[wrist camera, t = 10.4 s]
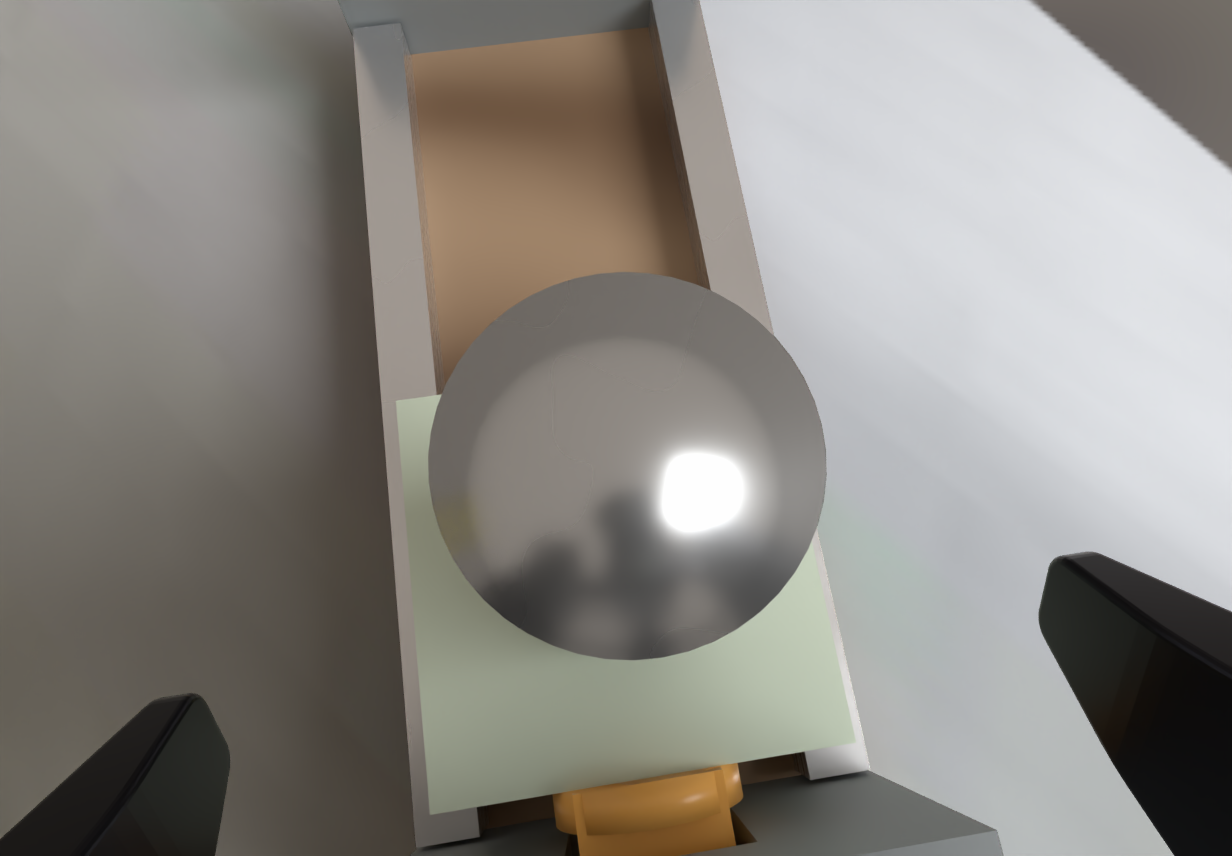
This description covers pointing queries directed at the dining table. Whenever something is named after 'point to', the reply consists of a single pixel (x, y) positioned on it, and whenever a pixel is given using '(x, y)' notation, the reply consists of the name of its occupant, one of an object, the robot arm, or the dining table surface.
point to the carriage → (616, 546)
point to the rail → (554, 253)
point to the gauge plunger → (653, 814)
